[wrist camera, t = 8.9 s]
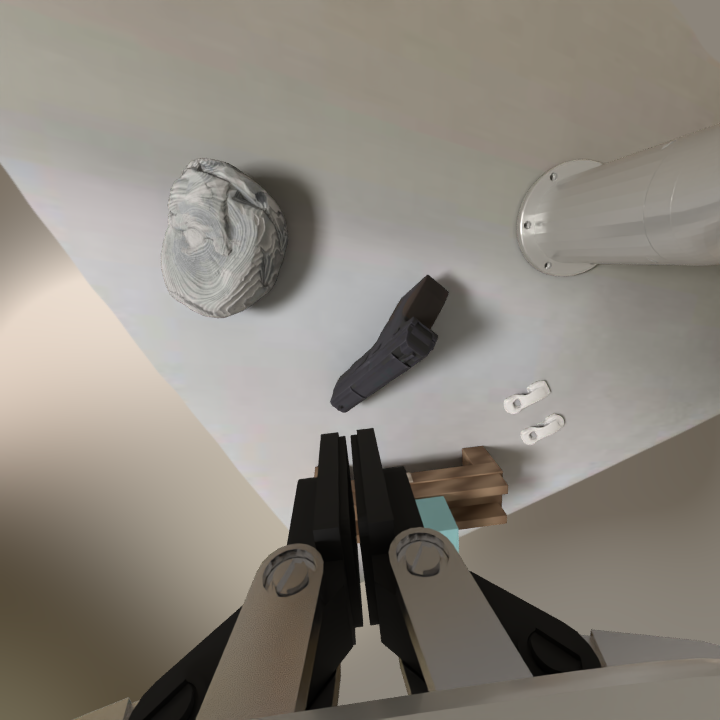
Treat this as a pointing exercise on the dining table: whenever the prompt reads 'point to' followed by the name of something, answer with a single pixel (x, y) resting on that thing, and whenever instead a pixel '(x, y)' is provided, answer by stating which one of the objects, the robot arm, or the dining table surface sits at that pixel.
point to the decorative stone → (221, 239)
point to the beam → (462, 489)
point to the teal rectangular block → (438, 518)
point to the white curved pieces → (537, 393)
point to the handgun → (394, 345)
